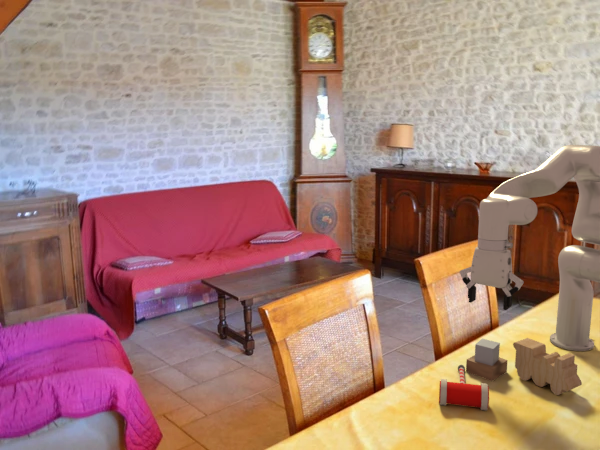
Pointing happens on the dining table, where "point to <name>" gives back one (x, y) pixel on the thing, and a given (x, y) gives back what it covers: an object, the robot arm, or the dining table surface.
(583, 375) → the dining table surface
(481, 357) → the slate brick
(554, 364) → the toy train
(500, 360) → the walnut block
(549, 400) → the dining table surface
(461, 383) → the toy hammer
